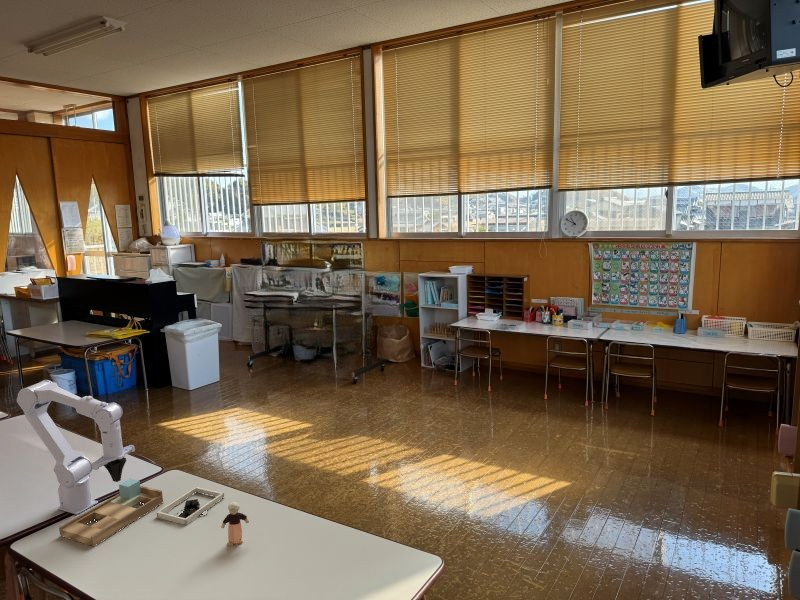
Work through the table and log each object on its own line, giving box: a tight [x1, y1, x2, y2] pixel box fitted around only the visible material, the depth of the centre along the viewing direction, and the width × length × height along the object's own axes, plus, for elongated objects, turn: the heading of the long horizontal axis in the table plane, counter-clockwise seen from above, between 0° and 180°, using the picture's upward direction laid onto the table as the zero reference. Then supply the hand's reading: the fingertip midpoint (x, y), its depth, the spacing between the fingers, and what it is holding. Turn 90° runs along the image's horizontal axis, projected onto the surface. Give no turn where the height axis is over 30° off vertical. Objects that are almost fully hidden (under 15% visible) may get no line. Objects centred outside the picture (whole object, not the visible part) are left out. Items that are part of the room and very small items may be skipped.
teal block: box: [118, 478, 141, 499], centre depth 184 cm, size 4×4×4 cm
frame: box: [155, 486, 225, 526], centre depth 180 cm, size 12×17×2 cm
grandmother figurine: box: [220, 501, 250, 547], centre depth 159 cm, size 8×4×13 cm, turn 118°
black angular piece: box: [178, 498, 203, 518], centre depth 176 cm, size 12×7×5 cm, turn 103°
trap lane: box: [58, 485, 164, 547], centre depth 174 cm, size 15×26×4 cm, turn 157°
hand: (116, 480), depth 179 cm, fingers closed
